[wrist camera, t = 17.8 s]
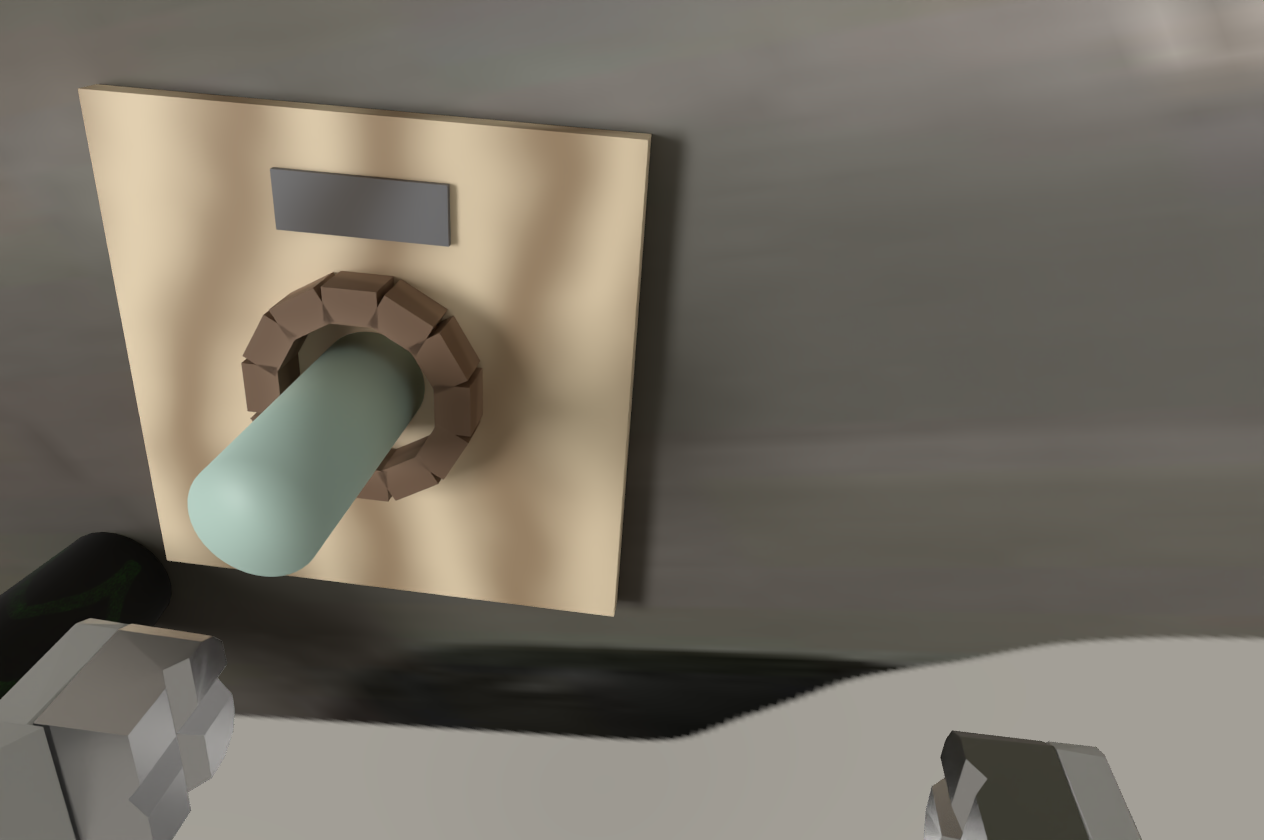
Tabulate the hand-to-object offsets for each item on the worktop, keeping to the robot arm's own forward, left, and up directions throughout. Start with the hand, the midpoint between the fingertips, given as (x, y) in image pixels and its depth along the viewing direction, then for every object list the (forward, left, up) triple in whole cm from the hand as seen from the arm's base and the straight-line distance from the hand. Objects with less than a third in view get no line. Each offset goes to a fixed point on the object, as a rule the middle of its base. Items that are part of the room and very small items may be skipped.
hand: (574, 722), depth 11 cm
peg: (+13, +10, -28) cm, 32 cm away
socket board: (+13, +10, -29) cm, 33 cm away
